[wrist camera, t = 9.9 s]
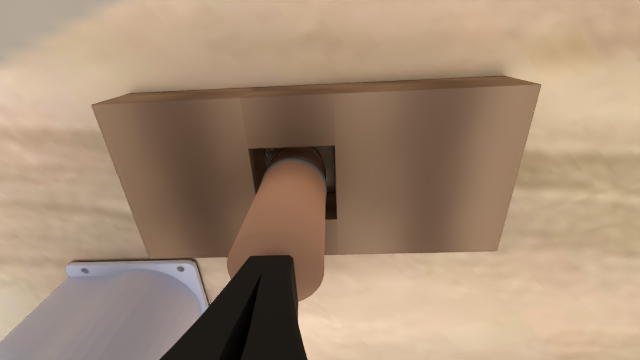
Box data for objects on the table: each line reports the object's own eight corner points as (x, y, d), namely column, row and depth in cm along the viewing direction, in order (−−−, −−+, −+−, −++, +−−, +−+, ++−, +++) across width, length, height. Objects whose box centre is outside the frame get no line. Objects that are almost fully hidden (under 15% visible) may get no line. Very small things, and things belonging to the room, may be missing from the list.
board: (173, 228, 20) (149, 258, 18) (130, 93, 16) (91, 105, 14) (473, 221, 19) (497, 251, 17) (504, 75, 15) (541, 84, 13)
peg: (277, 190, 19) (238, 307, 11) (267, 140, 17) (214, 232, 9) (329, 185, 19) (329, 302, 10) (324, 135, 17) (320, 224, 9)
